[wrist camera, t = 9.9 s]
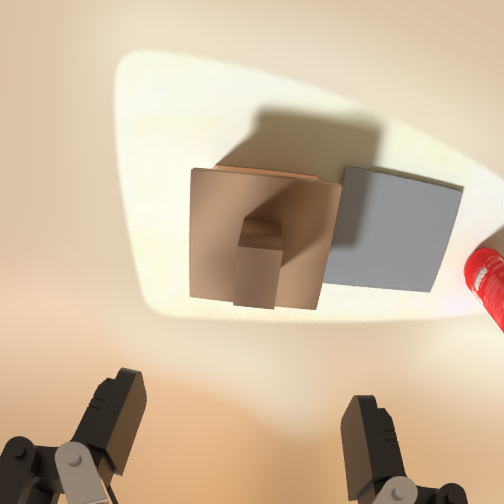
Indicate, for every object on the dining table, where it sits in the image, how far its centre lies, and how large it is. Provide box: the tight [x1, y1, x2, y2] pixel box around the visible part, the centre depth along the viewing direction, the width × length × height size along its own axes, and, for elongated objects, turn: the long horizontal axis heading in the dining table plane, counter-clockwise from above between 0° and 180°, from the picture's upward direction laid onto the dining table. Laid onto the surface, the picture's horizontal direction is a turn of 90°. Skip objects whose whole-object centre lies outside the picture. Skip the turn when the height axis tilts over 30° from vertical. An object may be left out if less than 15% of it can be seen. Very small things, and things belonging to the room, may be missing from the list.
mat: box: [323, 166, 463, 292], centre depth 27 cm, size 12×11×1 cm
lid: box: [189, 168, 342, 310], centre depth 21 cm, size 10×10×5 cm
